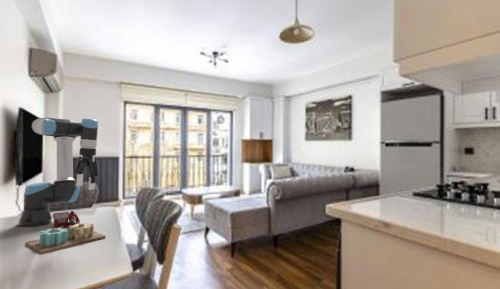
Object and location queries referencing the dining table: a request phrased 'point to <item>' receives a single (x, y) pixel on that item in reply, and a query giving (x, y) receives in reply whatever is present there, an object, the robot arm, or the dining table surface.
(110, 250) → the dining table surface
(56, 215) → the toy fire truck
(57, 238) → the teal gear
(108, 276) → the dining table surface
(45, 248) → the gear board
